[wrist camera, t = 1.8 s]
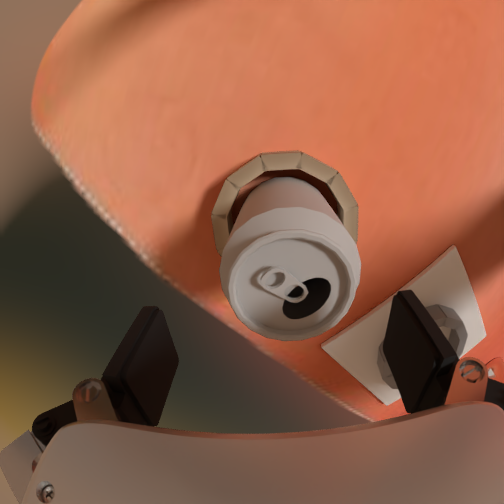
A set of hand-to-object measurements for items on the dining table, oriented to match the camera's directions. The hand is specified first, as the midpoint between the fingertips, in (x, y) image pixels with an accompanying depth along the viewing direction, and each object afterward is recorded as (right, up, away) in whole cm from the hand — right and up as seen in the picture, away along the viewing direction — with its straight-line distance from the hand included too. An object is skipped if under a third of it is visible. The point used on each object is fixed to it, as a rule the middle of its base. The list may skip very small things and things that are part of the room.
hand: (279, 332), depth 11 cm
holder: (+19, -8, +18) cm, 27 cm away
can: (+2, +6, +13) cm, 15 cm away
